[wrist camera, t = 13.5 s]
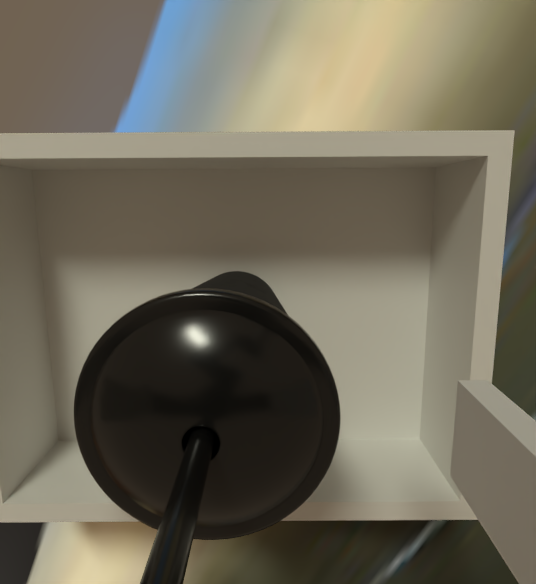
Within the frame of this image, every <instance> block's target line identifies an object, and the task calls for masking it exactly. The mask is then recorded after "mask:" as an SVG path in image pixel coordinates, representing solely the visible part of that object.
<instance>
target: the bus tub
mask: <svg viewBox="0 0 536 584" xmlns="http://www.w3.org/2000/svg"><path fill="white" fill-rule="evenodd" d="M513 142H514V130H488V131H321V132H154V133H6V134H5V133H2V134H1V133H0V522H140V521H138V520H137V519H135V518H133V517H132V516H130V515H129V514H128V513H126V512H125V511H123V510H122V509H121V508H120V507H119V506H117V505H116V504H115V503H114V502H113V501H112V500H111V499H110V498H109V497H108V496H107V495H106V494H105V493H104V492H103V490H102V489H101V488H100V487H99V485H98V484H97V483H96V481H95V480H94V478H93V477H92V475H91V473H90V472H89V470H88V468H87V466H86V464H85V462H84V460H83V457H82V455H81V452H80V449H79V446H78V442H77V438H76V433H75V426H74V398H75V391H76V386H77V382H78V378H79V375H80V373H81V370H82V367H83V365H84V363H85V361H86V359H87V357H88V355H89V353H90V351H91V350H92V348H93V347H94V345H95V344H96V342H97V341H98V340H99V339H100V337H101V336H102V335H103V334H104V333H105V332H106V331H107V330H108V329H109V328H110V327H111V326H112V325H113V324H114V323H115V322H116V321H117V320H119V319H120V318H121V317H122V316H123V315H125V314H126V313H128V312H129V311H131V310H132V309H134V308H135V307H137V306H139V305H141V304H143V303H145V302H147V301H149V300H151V299H153V298H156V297H158V296H161V295H164V294H168V293H171V292H175V291H181V290H187V289H192V288H194V287H196V286H198V285H200V284H202V283H204V282H206V281H208V280H210V279H212V278H214V277H216V276H218V275H220V274H223V273H226V272H231V271H242V272H248V273H251V274H253V275H256V276H258V277H259V278H261V279H262V280H264V281H265V282H266V283H267V284H268V285H269V286H270V288H271V289H272V290H273V292H274V294H275V295H276V297H277V298H278V300H279V302H280V303H281V305H282V306H283V308H284V309H285V311H286V313H287V314H288V316H290V317H291V318H292V319H293V320H294V321H296V322H297V323H298V324H299V325H300V326H301V327H302V328H303V329H304V330H305V331H306V332H307V333H308V334H309V335H310V337H311V338H312V339H313V340H314V341H315V343H316V344H317V346H318V347H319V349H320V350H321V352H322V353H323V355H324V357H325V359H326V361H327V363H328V365H329V367H330V369H331V372H332V375H333V377H334V380H335V384H336V387H337V391H338V396H339V402H340V414H341V420H340V433H339V440H338V444H337V448H336V451H335V454H334V457H333V460H332V462H331V465H330V467H329V469H328V471H327V473H326V475H325V476H324V478H323V479H322V481H321V483H320V484H319V486H318V487H317V488H316V490H315V491H314V492H313V493H312V495H311V496H310V497H309V498H308V499H307V500H306V501H305V502H304V503H303V504H302V505H301V506H300V507H299V508H297V509H296V510H295V511H294V512H293V513H291V514H290V515H288V516H287V517H285V518H284V519H282V520H281V521H331V520H478V519H477V517H476V516H475V514H474V512H473V511H472V509H471V508H470V506H469V505H468V503H467V502H466V500H465V498H464V497H463V495H462V494H461V492H460V491H459V489H458V487H457V486H456V484H455V483H454V481H453V480H452V478H451V477H450V471H451V459H452V446H453V434H454V422H455V410H456V397H457V385H458V380H488V381H489V382H490V383H491V384H492V374H493V363H494V352H495V341H496V330H497V319H498V308H499V297H500V286H501V274H502V263H503V252H504V241H505V230H506V219H507V208H508V197H509V186H510V175H511V164H512V153H513Z"/></svg>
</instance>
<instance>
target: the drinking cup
mask: <svg viewBox="0 0 536 584" xmlns="http://www.w3.org/2000/svg"><path fill="white" fill-rule="evenodd" d="M340 420H341V414H340V402H339V396H338V391H337V387H336V384H335V380H334V377H333V375H332V372H331V369H330V367H329V365H328V363H327V361H326V359H325V357H324V355H323V353H322V352H321V350H320V349H319V347H318V346H317V344H316V343H315V341H314V340H313V339H312V338H311V337H310V335H309V334H308V333H307V332H306V331H305V330H304V329H303V328H302V327H301V326H300V325H299V324H298V323H297V322H296V321H294V320H293V319H292V318H291V317H290V316H288V314H287V313H286V311H285V309H284V308H283V306H282V305H281V303H280V302H279V300H278V298H277V297H276V295H275V294H274V292H273V290H272V289H271V288H270V286H269V285H268V284H267V283H266V282H265V281H264V280H262V279H261V278H259V277H258V276H256V275H253V274H251V273H248V272H242V271H231V272H226V273H223V274H220V275H218V276H216V277H214V278H212V279H210V280H208V281H206V282H204V283H202V284H200V285H198V286H196V287H194V288H192V289H187V290H181V291H175V292H171V293H168V294H164V295H161V296H158V297H156V298H153V299H151V300H149V301H147V302H145V303H143V304H141V305H139V306H137V307H135V308H134V309H132V310H131V311H129V312H128V313H126V314H125V315H123V316H122V317H121V318H120V319H119V320H117V321H116V322H115V323H114V324H113V325H112V326H111V327H110V328H109V329H108V330H107V331H106V332H105V333H104V334H103V335H102V336H101V337H100V339H99V340H98V341H97V342H96V344H95V345H94V347H93V348H92V350H91V351H90V353H89V355H88V357H87V359H86V361H85V363H84V365H83V367H82V370H81V373H80V375H79V378H78V382H77V386H76V391H75V398H74V426H75V433H76V438H77V442H78V446H79V449H80V452H81V455H82V457H83V460H84V462H85V464H86V466H87V468H88V470H89V472H90V473H91V475H92V477H93V478H94V480H95V481H96V483H97V484H98V485H99V487H100V488H101V489H102V490H103V492H104V493H105V494H106V495H107V496H108V497H109V498H110V499H111V500H112V501H113V502H114V503H115V504H116V505H117V506H119V507H120V508H121V509H122V510H123V511H125V512H126V513H128V514H129V515H130V516H132V517H133V518H135V519H137V520H138V521H140V522H142V523H144V524H146V525H148V526H150V527H152V528H154V529H157V530H158V532H157V535H156V538H155V541H154V543H153V546H152V549H151V552H150V555H149V558H148V561H147V564H146V567H145V570H144V573H143V576H142V579H141V582H140V584H183V581H184V576H185V572H186V567H187V563H188V558H189V554H190V549H191V545H192V541H193V539H202V540H218V539H229V538H235V537H240V536H244V535H248V534H252V533H254V532H257V531H260V530H263V529H265V528H267V527H269V526H272V525H273V524H275V523H277V522H279V521H281V520H282V519H284V518H285V517H287V516H288V515H290V514H291V513H293V512H294V511H295V510H296V509H297V508H299V507H300V506H301V505H302V504H303V503H304V502H305V501H306V500H307V499H308V498H309V497H310V496H311V495H312V493H313V492H314V491H315V490H316V488H317V487H318V486H319V484H320V483H321V481H322V479H323V478H324V476H325V475H326V473H327V471H328V469H329V467H330V465H331V462H332V460H333V457H334V454H335V451H336V448H337V444H338V440H339V433H340Z"/></svg>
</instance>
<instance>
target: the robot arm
mask: <svg viewBox="0 0 536 584" xmlns="http://www.w3.org/2000/svg"><path fill="white" fill-rule="evenodd" d="M450 477H451V478H452V480H453V481H454V483H455V484H456V486H457V487H458V489H459V491H460V492H461V494H462V495H463V497H464V498H465V500H466V502H467V503H468V505H469V506H470V508H471V509H472V511H473V512H474V514H475V516H476V517H477V519H478V520H479V522H480V523H481V525H482V527H483V528H484V530H485V531H486V533H487V534H488V536H489V537H490V539H491V541H492V542H493V544H494V545H495V547H496V548H497V550H498V552H499V553H500V555H501V556H502V558H503V559H504V561H505V562H506V564H507V566H508V567H509V569H510V570H511V572H512V573H513V575H514V577H515V578H516V580H517V581H518V583H519V584H536V421H535V420H534V419H533V418H531V417H530V416H529V415H528V414H527V413H525V412H524V411H523V410H522V409H521V408H520V407H518V406H517V405H516V404H515V403H514V402H512V401H511V400H510V399H509V398H508V397H506V396H505V395H504V394H503V393H502V392H501V391H499V390H498V389H497V388H496V387H495V386H493V385H492V384H491V383H490V382H489V381H488V380H458V385H457V397H456V410H455V422H454V434H453V446H452V459H451V471H450Z"/></svg>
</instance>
